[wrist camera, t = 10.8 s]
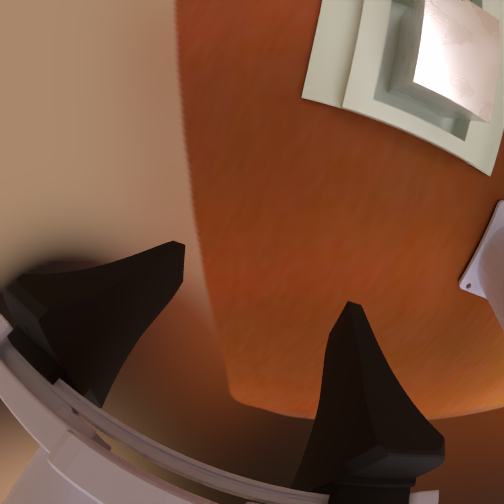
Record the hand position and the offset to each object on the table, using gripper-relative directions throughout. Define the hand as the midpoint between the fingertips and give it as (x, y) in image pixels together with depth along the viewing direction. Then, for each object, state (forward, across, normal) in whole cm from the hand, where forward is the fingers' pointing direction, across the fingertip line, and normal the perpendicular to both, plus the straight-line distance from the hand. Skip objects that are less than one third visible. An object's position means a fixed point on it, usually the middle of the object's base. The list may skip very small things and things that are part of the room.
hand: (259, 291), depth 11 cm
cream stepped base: (+9, -5, -18) cm, 21 cm away
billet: (+9, -6, -13) cm, 17 cm away
